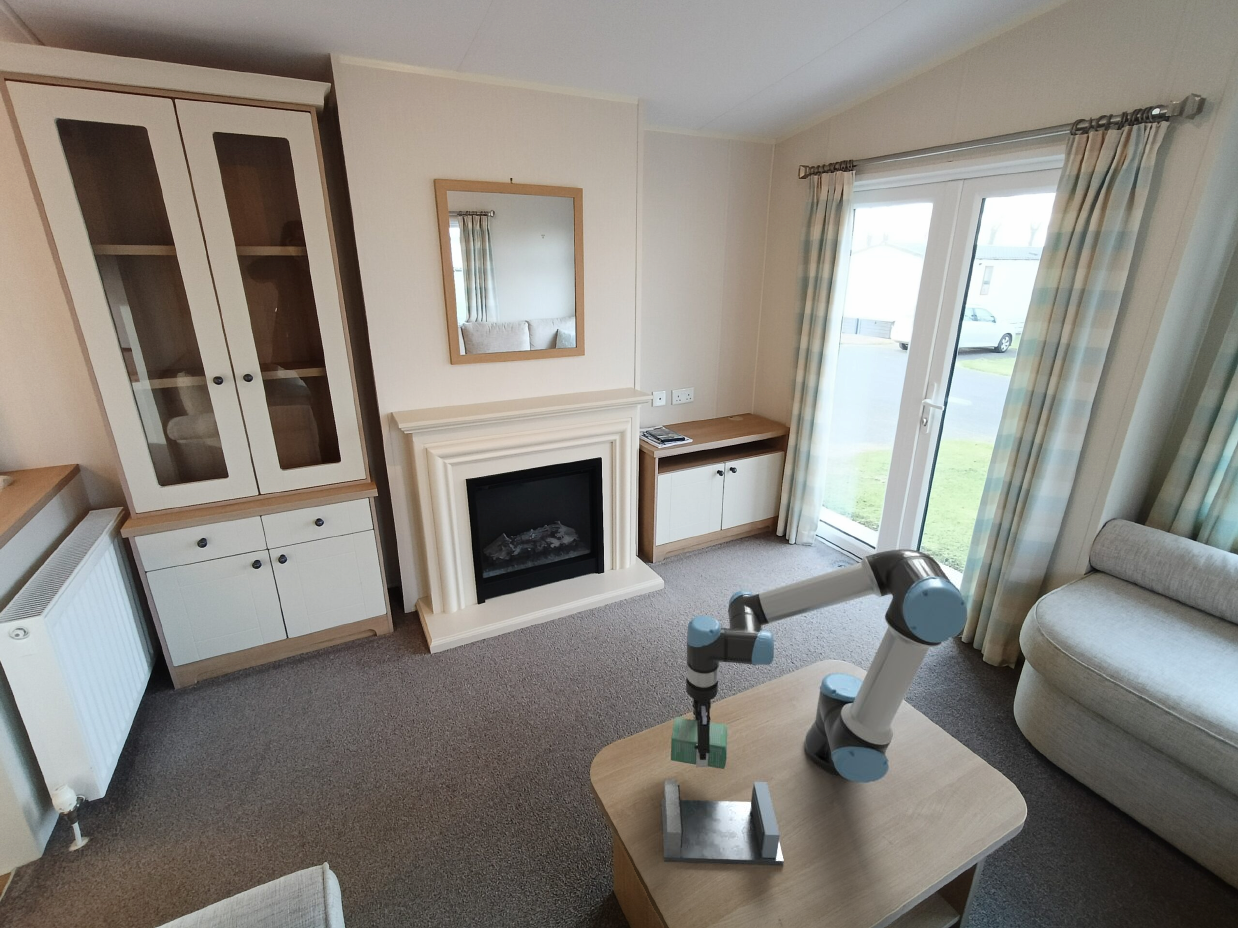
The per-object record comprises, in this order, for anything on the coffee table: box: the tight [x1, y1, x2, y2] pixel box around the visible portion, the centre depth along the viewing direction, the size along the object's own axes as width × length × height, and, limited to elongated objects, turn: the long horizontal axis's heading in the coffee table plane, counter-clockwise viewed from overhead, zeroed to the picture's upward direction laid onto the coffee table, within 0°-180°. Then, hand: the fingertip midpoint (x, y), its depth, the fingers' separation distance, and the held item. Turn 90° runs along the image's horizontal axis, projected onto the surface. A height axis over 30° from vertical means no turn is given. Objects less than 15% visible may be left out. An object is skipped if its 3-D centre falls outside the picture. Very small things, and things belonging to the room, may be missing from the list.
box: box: [670, 716, 728, 770], centre depth 141 cm, size 7×14×8 cm, turn 78°
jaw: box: [750, 781, 781, 858], centre depth 129 cm, size 3×13×7 cm, turn 178°
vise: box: [660, 779, 785, 867], centre depth 129 cm, size 26×14×8 cm, turn 88°
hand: (699, 751), depth 142 cm, fingers closed on box, 8 cm apart
